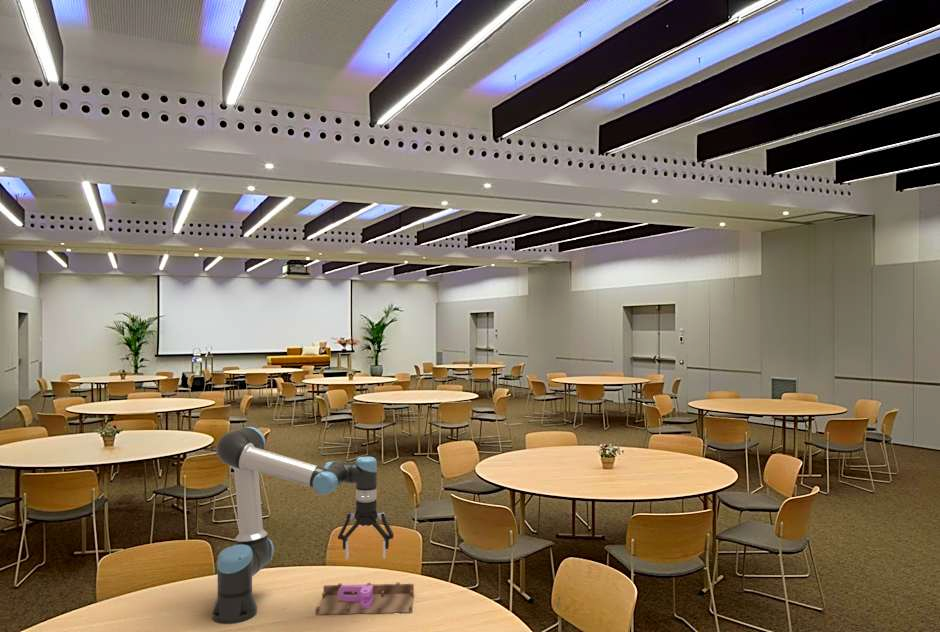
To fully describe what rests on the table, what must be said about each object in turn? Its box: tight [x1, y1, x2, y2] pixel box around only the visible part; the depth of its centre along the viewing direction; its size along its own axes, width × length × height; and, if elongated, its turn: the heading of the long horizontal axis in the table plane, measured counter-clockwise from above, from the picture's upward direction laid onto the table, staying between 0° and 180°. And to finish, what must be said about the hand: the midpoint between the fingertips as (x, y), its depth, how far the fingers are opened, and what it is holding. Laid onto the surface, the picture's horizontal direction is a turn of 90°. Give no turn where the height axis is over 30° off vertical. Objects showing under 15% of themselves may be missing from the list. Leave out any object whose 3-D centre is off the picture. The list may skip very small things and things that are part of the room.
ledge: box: [315, 581, 415, 617], centre depth 242 cm, size 34×17×5 cm, turn 92°
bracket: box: [338, 584, 373, 608], centre depth 241 cm, size 13×6×7 cm
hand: (365, 557), depth 241 cm, fingers open, 13 cm apart
